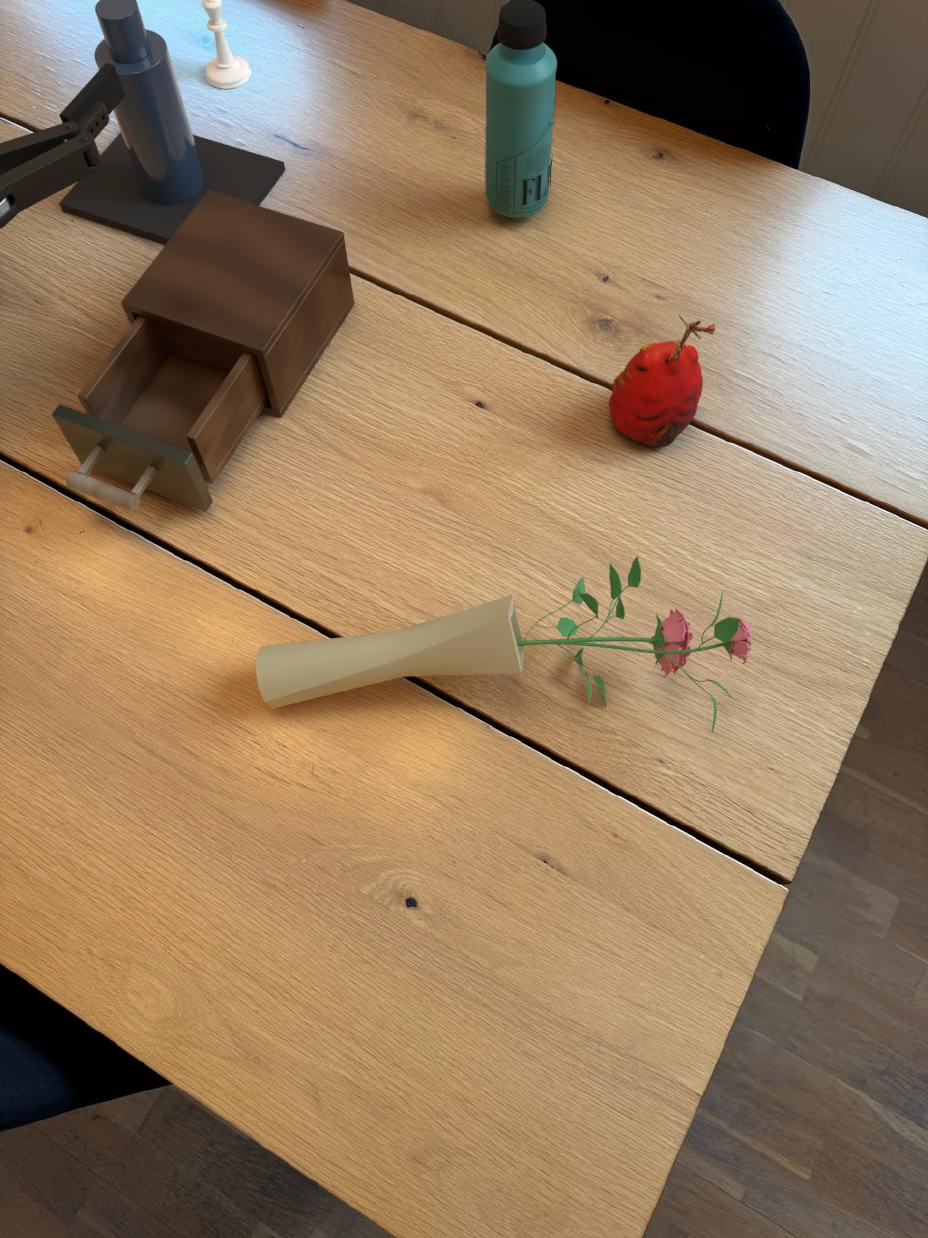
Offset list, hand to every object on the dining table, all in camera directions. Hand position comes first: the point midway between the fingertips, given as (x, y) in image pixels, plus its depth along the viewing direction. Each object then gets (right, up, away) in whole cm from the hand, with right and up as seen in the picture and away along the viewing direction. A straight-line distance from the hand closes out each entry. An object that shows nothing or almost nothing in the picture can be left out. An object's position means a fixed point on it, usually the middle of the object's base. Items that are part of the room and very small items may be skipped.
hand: (43, 57), depth 81 cm
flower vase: (+36, -50, -3) cm, 61 cm away
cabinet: (+14, -19, +13) cm, 27 cm away
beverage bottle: (+39, -4, +20) cm, 44 cm away
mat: (+4, -1, +22) cm, 23 cm away
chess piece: (+8, +15, +30) cm, 35 cm away
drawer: (+8, -30, +6) cm, 32 cm away
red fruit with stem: (+50, -28, +8) cm, 58 cm away
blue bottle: (+4, -1, +21) cm, 22 cm away
